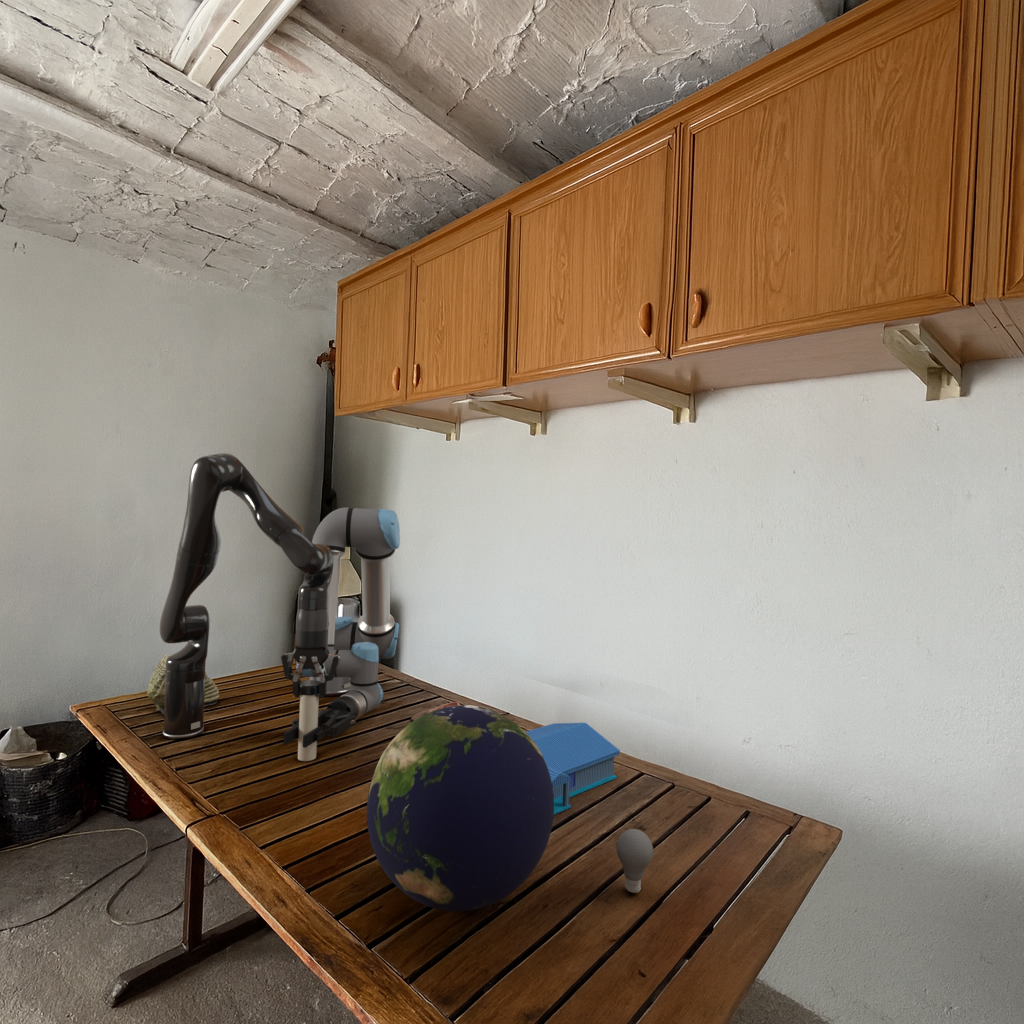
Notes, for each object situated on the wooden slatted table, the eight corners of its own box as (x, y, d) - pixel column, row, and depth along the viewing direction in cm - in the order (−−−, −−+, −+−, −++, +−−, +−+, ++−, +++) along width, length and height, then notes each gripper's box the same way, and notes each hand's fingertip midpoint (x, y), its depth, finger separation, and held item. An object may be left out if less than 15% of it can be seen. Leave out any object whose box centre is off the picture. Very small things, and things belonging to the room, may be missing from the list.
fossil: (144, 707, 182) (145, 655, 182) (212, 696, 194) (213, 647, 194) (151, 716, 175) (153, 662, 175) (221, 703, 188) (223, 653, 188)
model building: (501, 837, 120) (504, 785, 120) (427, 790, 139) (429, 744, 138) (628, 782, 147) (630, 739, 147) (552, 748, 165) (553, 710, 165)
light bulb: (610, 879, 108) (613, 822, 108) (644, 879, 109) (647, 822, 109) (619, 902, 102) (622, 840, 102) (655, 901, 103) (658, 840, 103)
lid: (294, 694, 151) (294, 685, 151) (304, 688, 156) (304, 679, 156) (315, 696, 150) (316, 686, 150) (324, 690, 155) (324, 680, 155)
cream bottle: (296, 761, 151) (299, 689, 150) (299, 754, 155) (302, 684, 155) (315, 761, 151) (318, 689, 151) (317, 753, 156) (320, 684, 156)
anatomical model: (407, 708, 179) (421, 696, 191) (406, 722, 179) (420, 709, 191) (452, 713, 177) (463, 701, 188) (451, 727, 177) (463, 714, 188)
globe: (322, 922, 94) (330, 722, 94) (423, 829, 122) (430, 674, 122) (507, 988, 83) (517, 762, 83) (572, 869, 111) (580, 699, 110)
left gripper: (277, 628, 149) (274, 701, 149) (338, 630, 149) (335, 702, 149) (286, 622, 156) (284, 691, 156) (345, 624, 157) (342, 693, 157)
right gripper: (374, 727, 168) (327, 761, 146) (316, 718, 173) (261, 750, 150) (376, 699, 168) (328, 729, 145) (317, 691, 173) (263, 719, 150)
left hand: (309, 696), depth 153 cm, fingers closed on lid, 5 cm apart
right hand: (294, 740), depth 148 cm, fingers closed on cream bottle, 4 cm apart
